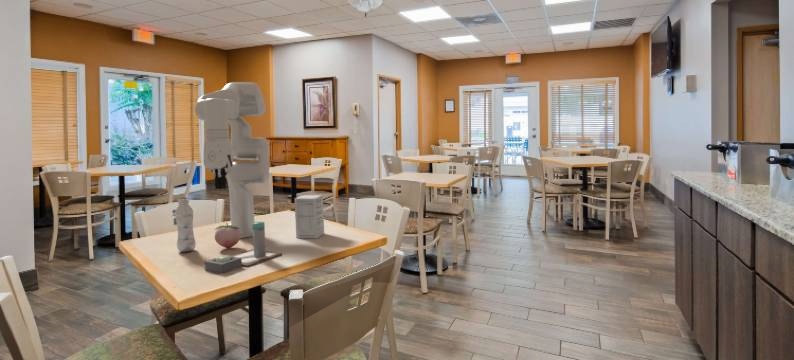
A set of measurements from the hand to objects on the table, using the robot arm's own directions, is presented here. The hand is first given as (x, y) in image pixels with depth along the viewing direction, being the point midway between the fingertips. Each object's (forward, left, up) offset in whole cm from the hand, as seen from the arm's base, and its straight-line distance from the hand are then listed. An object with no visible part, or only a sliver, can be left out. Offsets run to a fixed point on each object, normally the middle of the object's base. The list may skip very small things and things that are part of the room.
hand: (220, 188), depth 158 cm
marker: (+11, +6, -24) cm, 27 cm away
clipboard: (+8, +4, -25) cm, 27 cm away
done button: (+9, -8, -24) cm, 27 cm away
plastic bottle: (-21, 0, -25) cm, 33 cm away
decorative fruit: (-10, +10, -25) cm, 29 cm away
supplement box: (+5, +40, -25) cm, 48 cm away
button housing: (+9, -8, -25) cm, 28 cm away
